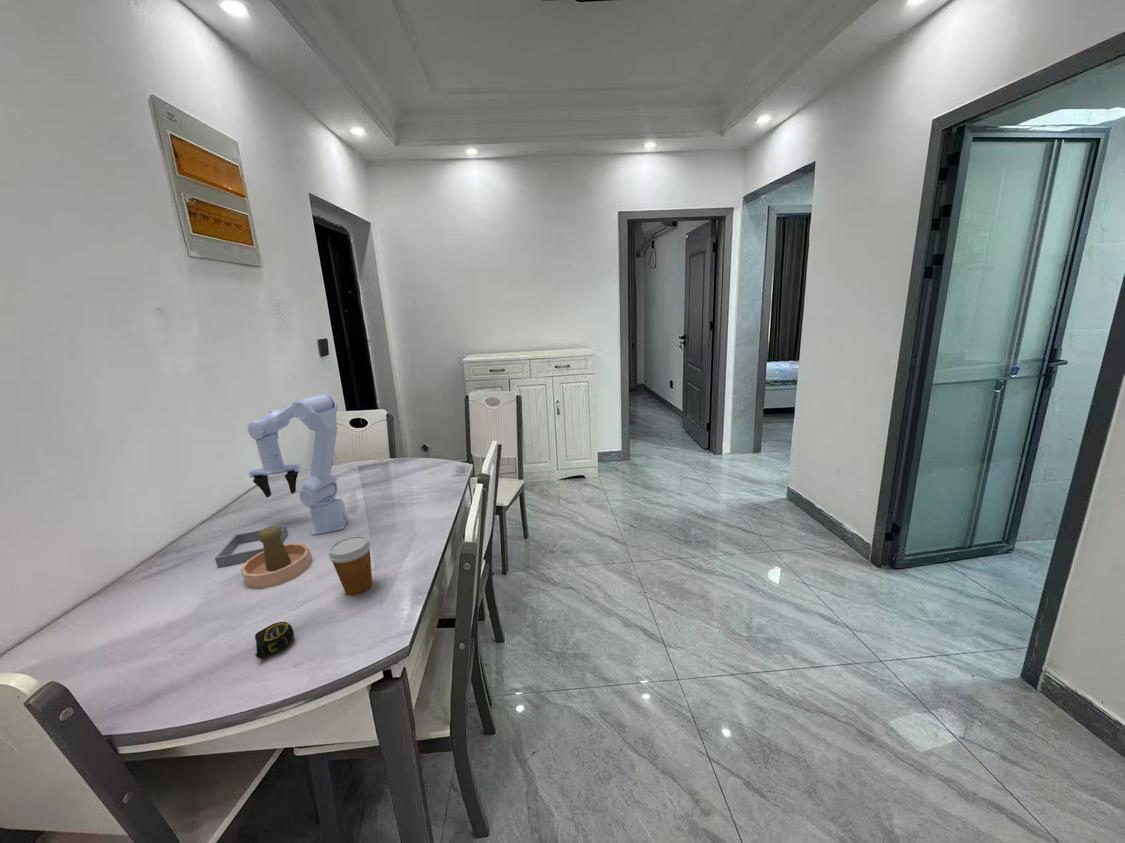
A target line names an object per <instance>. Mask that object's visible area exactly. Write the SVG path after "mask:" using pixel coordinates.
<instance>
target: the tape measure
mask: <svg viewBox="0 0 1125 843" xmlns="http://www.w3.org/2000/svg"><path fill="white" fill-rule="evenodd" d="M294 636H295V632H294V629H293V627H292V625H291V624H290V623H289V622H287V621H278V622H274V623H272V624H269V626H267V627H265V628H264V629H261V630H259V631H258V632H256V633H255V634H254V638H255V643H256V644H255V648H256V653H255V654H254V656H256V659H257V658H259V659H261V660H262V659H263V660H264V659H265V658H268V656H269V655H271V654H277V653H279V652H281V651H282V650H284V649H286V648H287V647H288V646H289V645H290V644H291V643H292V641H293V639H294Z"/></svg>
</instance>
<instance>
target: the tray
mask: <svg viewBox="0 0 1125 843" xmlns="http://www.w3.org/2000/svg"><path fill="white" fill-rule="evenodd" d="M277 527H278V528H280V530H281V537H280V538H281V540H282V542H283V543H284V541H285V539H286V538H287V536H288V535H289V532H288V528H287V525H280V526H277ZM264 529H265V528H264ZM264 529H258V530H253V531H248V532H243V533H237V534H234V536H232V538H230V540H229V541H228V543H227V544H226V545H225V546H224V547H223V548H222V549H221V551H220V552H218V554H217V555H216V556H215V558H214V561H215V563H216V566H217V568H223V567H222V566H224V567H227V566H226V565H229V566H232V565H231V564H234V565H237V564H236V563H239V564H243V563H242V562H244V563H245V562H246V561H248V560H249V559H251V558H252V557H254V556H255V555H257V554H259V553H260V552H263V551H264V547H261V548H256V549H251V550H247V551H246V550H245V551H243V552H242V551H241V552H237V553H233V552H234V551H235V550H236V549H237V547H239V545H241V544H245V543H246V542H247V543H250V542H256V541H260V540H259V533H260V532H261V531H262V530H264ZM240 543H241V544H240ZM247 543H246V544H247ZM235 548H236V549H235ZM234 549H235V550H234ZM231 553H232V554H231Z"/></svg>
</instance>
